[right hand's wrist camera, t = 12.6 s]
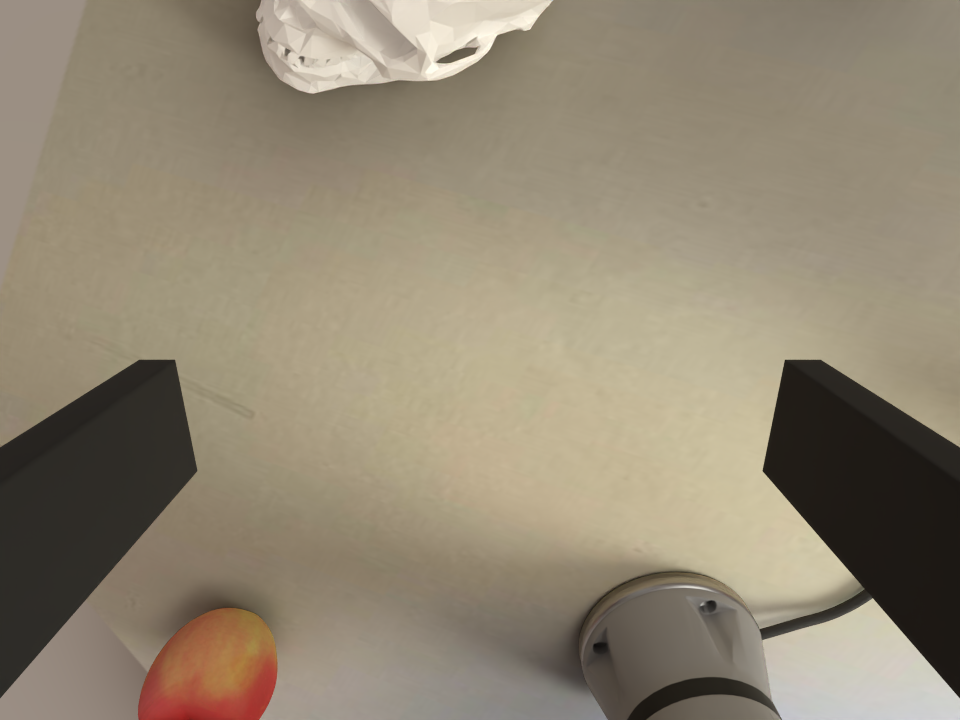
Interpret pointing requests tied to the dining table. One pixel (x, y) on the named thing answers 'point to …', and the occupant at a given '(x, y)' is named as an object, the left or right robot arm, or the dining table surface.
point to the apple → (213, 670)
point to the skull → (381, 38)
